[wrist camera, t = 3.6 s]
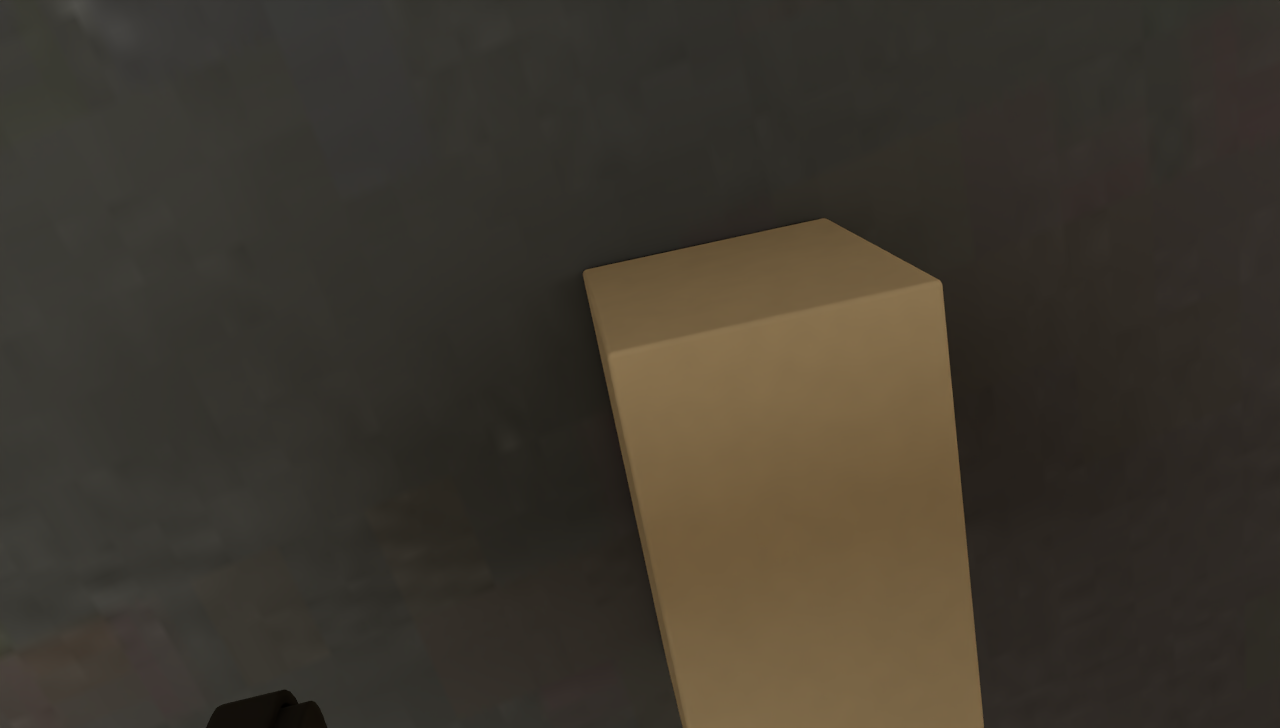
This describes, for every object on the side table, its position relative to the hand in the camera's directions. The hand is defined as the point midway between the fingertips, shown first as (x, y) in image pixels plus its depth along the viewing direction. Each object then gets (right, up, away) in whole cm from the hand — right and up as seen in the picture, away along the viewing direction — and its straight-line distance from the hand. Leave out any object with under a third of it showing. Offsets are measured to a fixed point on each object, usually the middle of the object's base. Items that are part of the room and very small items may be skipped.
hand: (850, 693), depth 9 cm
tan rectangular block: (0, +2, +6) cm, 6 cm away
